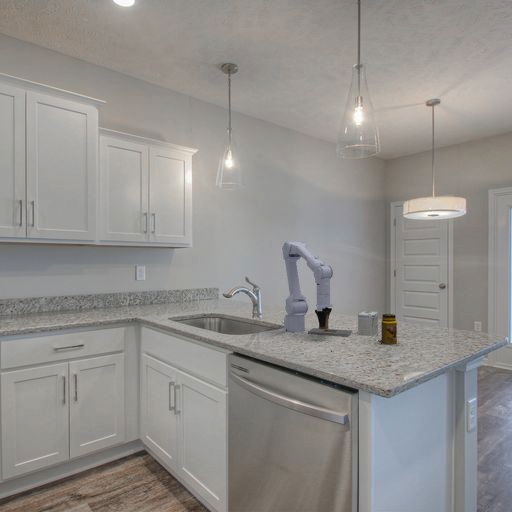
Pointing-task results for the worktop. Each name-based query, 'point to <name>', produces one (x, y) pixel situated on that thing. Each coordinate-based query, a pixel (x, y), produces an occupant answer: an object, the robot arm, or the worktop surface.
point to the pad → (324, 338)
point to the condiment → (388, 330)
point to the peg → (325, 324)
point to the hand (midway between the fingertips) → (323, 325)
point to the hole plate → (330, 332)
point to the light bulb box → (368, 323)
